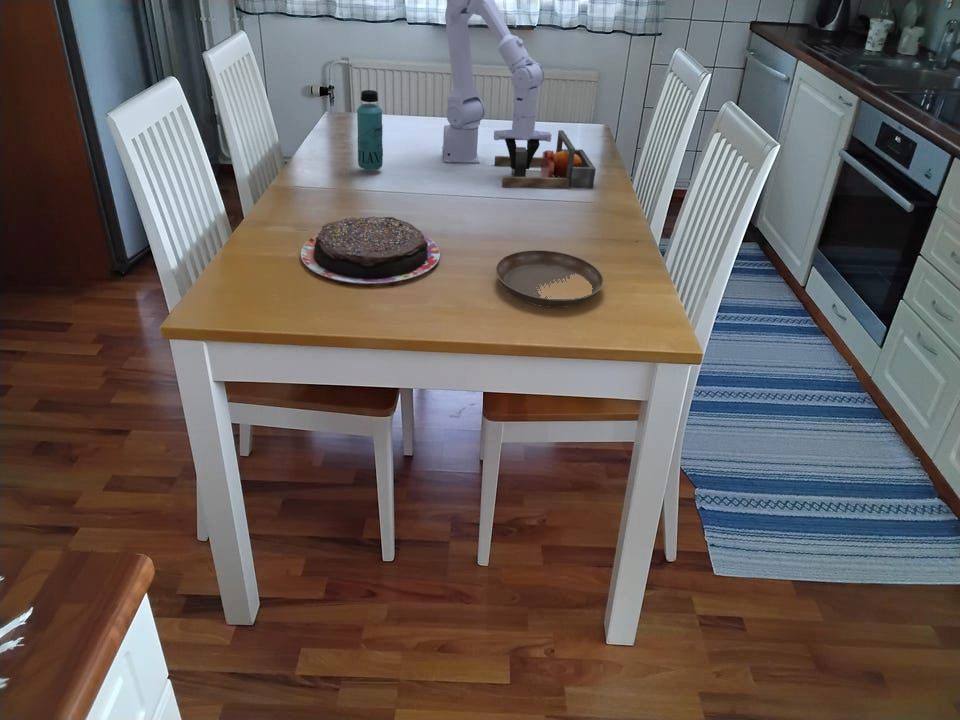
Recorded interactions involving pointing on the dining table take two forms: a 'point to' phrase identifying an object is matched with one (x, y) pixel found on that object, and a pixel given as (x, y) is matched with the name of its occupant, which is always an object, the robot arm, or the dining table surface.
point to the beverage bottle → (369, 132)
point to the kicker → (521, 171)
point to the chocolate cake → (370, 252)
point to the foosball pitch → (574, 178)
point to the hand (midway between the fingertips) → (519, 167)
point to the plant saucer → (544, 275)
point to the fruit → (563, 163)
